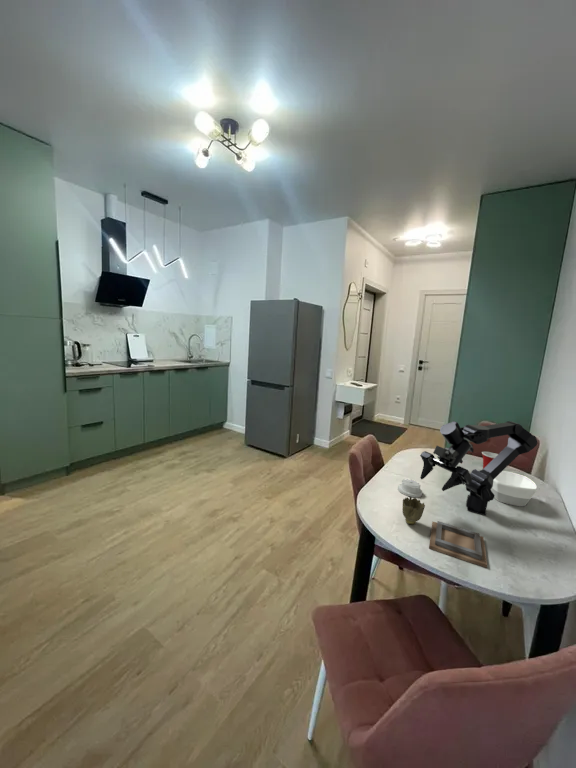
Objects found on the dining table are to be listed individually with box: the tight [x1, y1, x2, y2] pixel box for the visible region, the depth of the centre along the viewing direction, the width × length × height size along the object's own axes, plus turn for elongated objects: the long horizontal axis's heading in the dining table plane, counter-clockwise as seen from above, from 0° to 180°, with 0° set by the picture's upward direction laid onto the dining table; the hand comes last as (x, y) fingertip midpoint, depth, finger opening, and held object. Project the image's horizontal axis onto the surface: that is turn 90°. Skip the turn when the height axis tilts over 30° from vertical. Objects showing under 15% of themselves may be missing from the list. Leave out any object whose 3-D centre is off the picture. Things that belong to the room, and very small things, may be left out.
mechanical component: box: [397, 478, 423, 498], centre depth 144 cm, size 10×4×10 cm
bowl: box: [491, 470, 538, 507], centre depth 145 cm, size 18×18×9 cm
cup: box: [402, 496, 426, 526], centre depth 119 cm, size 8×7×8 cm
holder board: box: [428, 520, 488, 569], centre depth 110 cm, size 16×16×2 cm
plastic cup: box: [481, 451, 499, 470], centre depth 166 cm, size 11×11×12 cm
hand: (431, 484), depth 121 cm, fingers open, 9 cm apart
